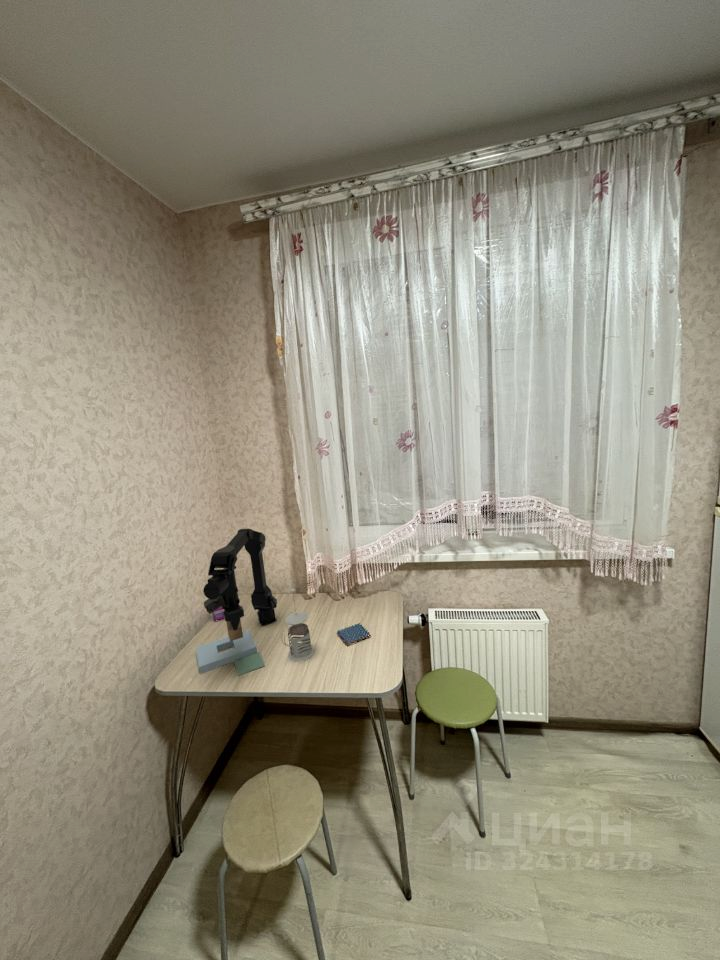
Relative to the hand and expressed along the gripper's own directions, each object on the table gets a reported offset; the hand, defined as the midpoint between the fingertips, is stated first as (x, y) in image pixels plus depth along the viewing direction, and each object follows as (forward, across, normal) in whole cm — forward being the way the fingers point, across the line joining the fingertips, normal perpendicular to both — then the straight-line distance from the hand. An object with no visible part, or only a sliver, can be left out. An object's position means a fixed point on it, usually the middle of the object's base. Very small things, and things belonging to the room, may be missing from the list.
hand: (234, 626), depth 135 cm
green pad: (+13, +4, +3) cm, 14 cm away
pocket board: (+13, -8, -4) cm, 16 cm away
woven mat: (+14, +9, +41) cm, 44 cm away
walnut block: (+4, 0, 0) cm, 4 cm away
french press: (+13, +9, +20) cm, 25 cm away
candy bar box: (+13, -38, 0) cm, 40 cm away
